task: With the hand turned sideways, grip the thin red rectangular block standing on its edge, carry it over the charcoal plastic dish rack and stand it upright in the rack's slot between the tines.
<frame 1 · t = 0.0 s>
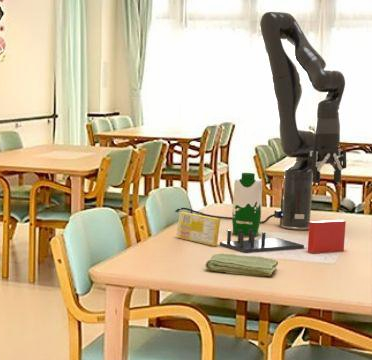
hand: (326, 182, 300), 17 cm above the table, tool pointing down, fingers open, 8 cm apart
red rectangular block: (325, 251, 273), on the table
washcloth: (241, 270, 244), on the table
milk carton: (245, 235, 299), on the table
dish rack: (261, 246, 278), on the table
candy box: (196, 242, 283), on the table
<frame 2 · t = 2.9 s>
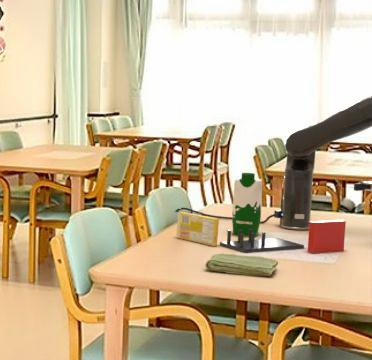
hand: (365, 188, 277), 18 cm above the table, tool horizontal, fingers open, 8 cm apart
nothing on the table moved.
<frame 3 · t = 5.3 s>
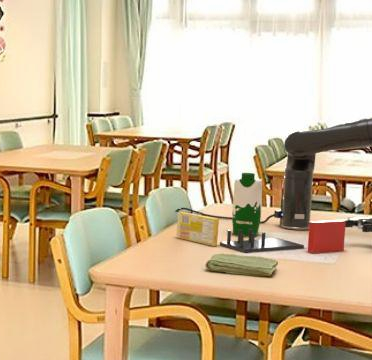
hand: (352, 226, 276), 7 cm above the table, tool horizontal, fingers open, 8 cm apart
nothing on the table moved.
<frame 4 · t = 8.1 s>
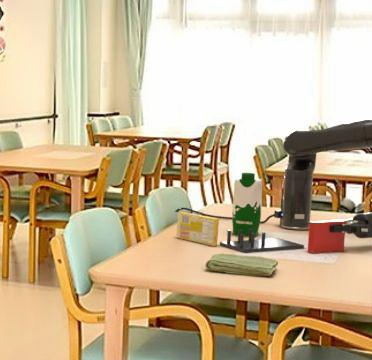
hand: (327, 228, 272), 7 cm above the table, tool horizontal, fingers closed on red rectangular block, 2 cm apart
red rectangular block: (325, 251, 273), on the table, touching gripper
everything else where it was.
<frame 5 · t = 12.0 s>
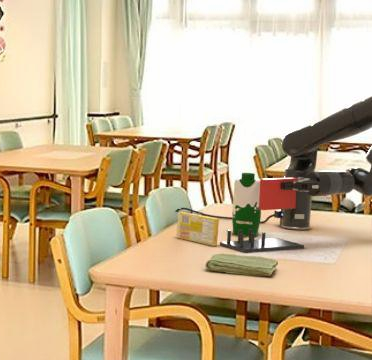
hand: (278, 185, 273), 19 cm above the table, tool horizontal, fingers closed on red rectangular block
red rectangular block: (277, 208, 274), point 12 cm above the table, touching gripper
everything else where it was.
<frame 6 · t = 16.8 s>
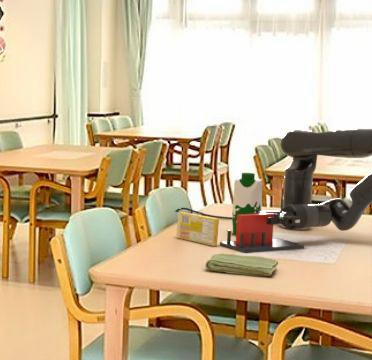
hand: (258, 218, 276), 9 cm above the table, tool horizontal, fingers open, 8 cm apart
red rectangular block: (254, 244, 276), point 1 cm above the table, touching dish rack
everything else where it was.
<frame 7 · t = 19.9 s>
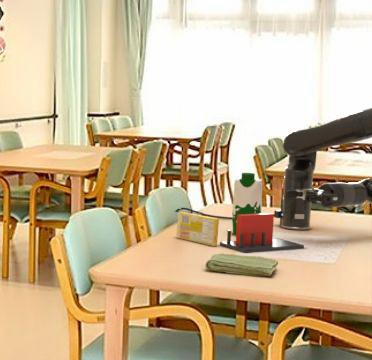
hand: (296, 196, 281), 15 cm above the table, tool horizontal, fingers open, 8 cm apart
nothing on the table moved.
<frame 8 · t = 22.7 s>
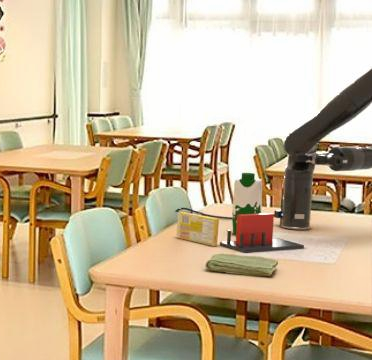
hand: (305, 159, 281), 26 cm above the table, tool horizontal, fingers open, 8 cm apart
nothing on the table moved.
at the end: red rectangular block inside the target area on the dish rack (0.1 cm from its centre), point 1.0 cm above the dish rack's base; red rectangular block tilted 0°; the gripper is holding nothing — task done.
